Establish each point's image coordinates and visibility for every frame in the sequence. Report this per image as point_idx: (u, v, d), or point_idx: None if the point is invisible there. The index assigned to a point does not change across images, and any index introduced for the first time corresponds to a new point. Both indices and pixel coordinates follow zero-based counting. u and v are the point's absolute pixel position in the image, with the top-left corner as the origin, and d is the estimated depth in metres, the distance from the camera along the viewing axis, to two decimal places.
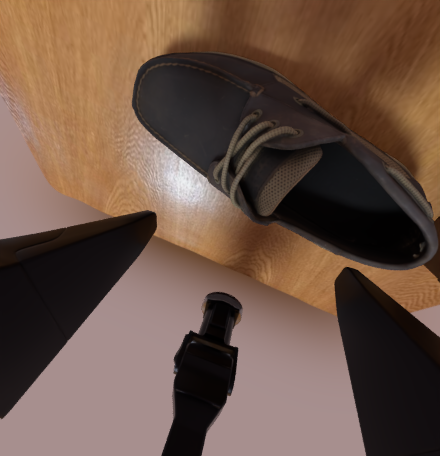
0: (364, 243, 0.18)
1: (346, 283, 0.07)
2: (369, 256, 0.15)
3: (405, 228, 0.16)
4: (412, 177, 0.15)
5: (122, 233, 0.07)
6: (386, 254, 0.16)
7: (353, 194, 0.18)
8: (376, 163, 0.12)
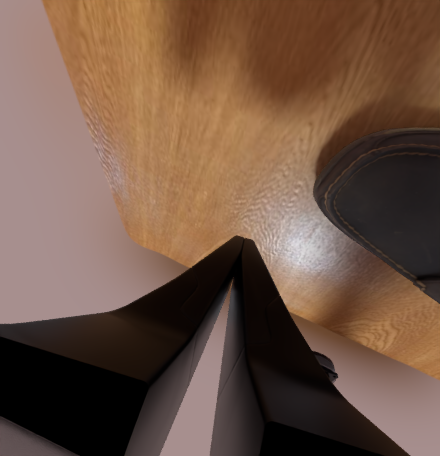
0: None
1: None
2: None
3: None
4: None
5: (234, 267, 0.06)
6: None
7: None
8: None
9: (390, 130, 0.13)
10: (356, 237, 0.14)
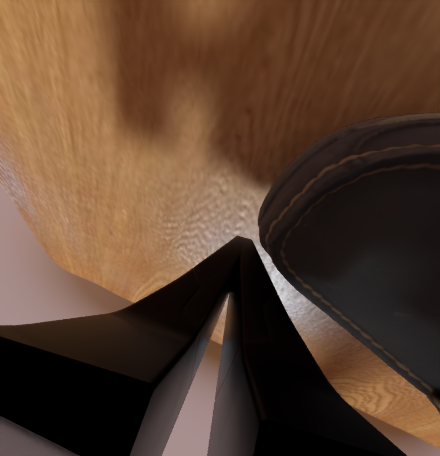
0: None
1: None
2: None
3: None
4: None
5: (235, 268, 0.06)
6: None
7: None
8: None
9: (389, 118, 0.07)
10: (326, 311, 0.08)
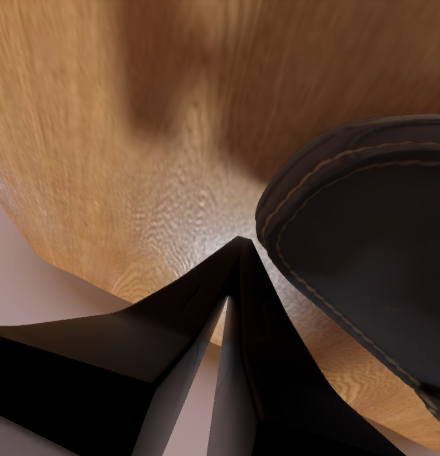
0: None
1: None
2: None
3: None
4: None
5: (236, 268, 0.06)
6: None
7: None
8: None
9: (385, 117, 0.07)
10: (319, 305, 0.08)
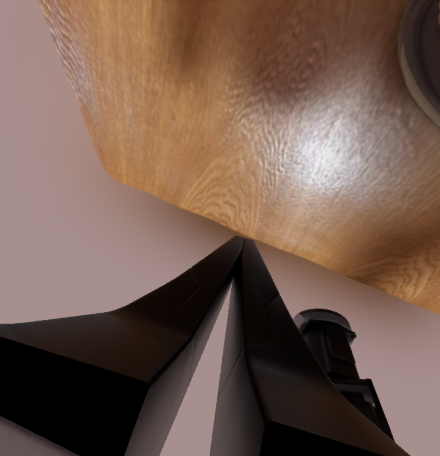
0: None
1: None
2: None
3: None
4: None
5: (234, 267, 0.06)
6: None
7: None
8: None
9: None
10: None
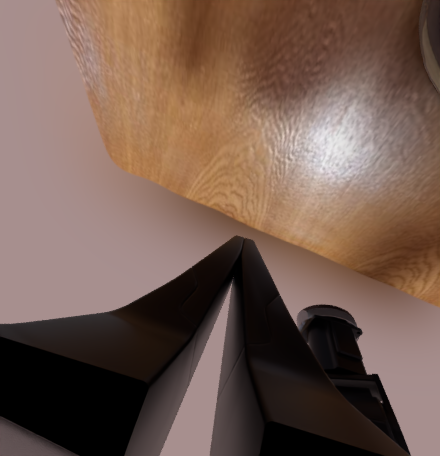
0: None
1: None
2: None
3: None
4: None
5: (234, 267, 0.06)
6: None
7: None
8: None
9: None
10: None
